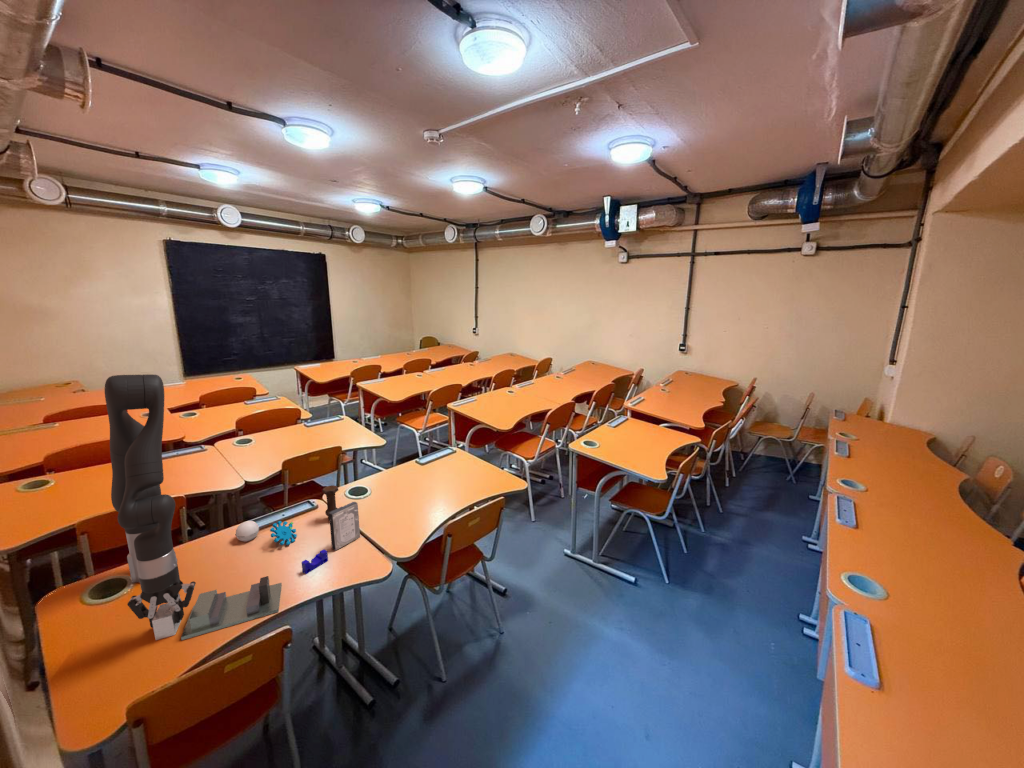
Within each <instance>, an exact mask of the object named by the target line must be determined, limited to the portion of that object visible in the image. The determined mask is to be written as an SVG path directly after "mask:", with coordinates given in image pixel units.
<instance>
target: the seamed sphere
mask: <svg viewBox="0 0 1024 768" xmlns="http://www.w3.org/2000/svg"><path fill="white" fill-rule="evenodd" d="M259 532H260V527H259V524H258V522H255V521H253V520H247V521H243V522H241V523H240V524H239V525H238V526H237V527H236V529H235V533H234V534H235V538H237V540H239V541H241V542H249V541H252V540H254V539H255V538H256V537H257V536H258V535H259Z"/></svg>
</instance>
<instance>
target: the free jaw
mask: <svg viewBox="0 0 1024 768" xmlns="http://www.w3.org/2000/svg"><path fill="white" fill-rule="evenodd" d="M269 578H270V577H269V576H264V577H260V579H259V582H257V583H254V584H253V583H252V584H251V586H250V589H249V591H250V593H249V597H248V602H247V606H246V611H247V615H250V614H254V613H257V612H260V607H261V604H265V603H268V602H269V599H270V579H269Z"/></svg>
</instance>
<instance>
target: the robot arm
mask: <svg viewBox="0 0 1024 768" xmlns="http://www.w3.org/2000/svg"><path fill="white" fill-rule="evenodd" d="M164 385H165V384H164V382H163V380H162V378H161V376H160V375H158V374H116V375H111V376H109V377H107V378H106V380H105V383H104V399H105V404H106V411H107V415H108V423H109V455H110V463H111V473H112V474H111V476H112V477H111V479H112V480H111V490H110V498H111V499H110V500H111V504H112V507H113V509H114V511H116V512H118V513H117V523H118V525H119V526H120V527H121V528H122V529H124V533H125V536H126V537H125V538H126V541H127V547H128V551H129V553H128V554H127V556H126V560H127V565H128V570H129V575H130V579H131V583H132V584H133V583H134V584H135V583H139V585H140V590H141V593H140V594H138V595H132V596H131V597H130V599H129V601H128V602H127V604H126V605H127V606H128V607H129V609H130V610H131V611H132V612H133V613H134V615H135V616H136V617H137V618H138V619H139V620H143V619H144V618H147V619H148V620H149V625H150V628H151V629H153V624H152V620H153V618H154V616H155V614H156V612H157V610H158V608H159V606H160V605H162V604H166V603H169V605H170V606H172V607H173V609H174V610H175V612H174V613H175V619H176V623H180V624H181V622H182V620H183V618H184V615H185V612H184V608H188V607H189V604H190V602H191V600H192V597H193V593H194V591H195V586H196V581H191V582H190V583H184V582H183V581H182V580H181V578H180V571H179V565H178V558H177V555H176V551H175V548H174V544H173V539H172V538H173V537H172V525H173V524H172V523H173V519H174V514H175V510H176V500H175V498H173V497H172V496H171V495H169V494H165V493H164V494H162V488H161V484H163V482H164V479H165V478H164V476H165V475H164V465H163V454H162V453H163V451H162V450H163V447H162V446H163V432H164V431H163V430H164V420H165V414H164V413H165V386H164ZM144 409H148V416H147V420H146V422H145V424H144V425H143V423H141V422H139V421H137V420H136V419H134V417H133V416H131V415H130V414H129V412H128V410H129V411H130V410H131V411H132V410H144ZM182 590H183V592H184V594H185V596H184V600H182V598H181V595H180V591H182ZM143 601H145V602H147V603H148V604H149V607H148V608H147V607H146V605H145V604H144V603H143ZM180 621H181V622H180Z"/></svg>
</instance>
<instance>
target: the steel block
mask: <svg viewBox="0 0 1024 768" xmlns="http://www.w3.org/2000/svg"><path fill="white" fill-rule="evenodd" d="M174 612H175V610H174V609H173V607H172V606H170V605H169V603H162V604H160V605H158V608H157V611H156V614H155V616H154V618H153V620H152V624H153V628H152V630H153V633H154V638H155V641H158V640H162V639H166V638H169V637H173V636H175V635H176V633H177V632H178V629H179V626H180V624H181V622H182V620H181V621H180V623H176V619H175V613H174Z"/></svg>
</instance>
